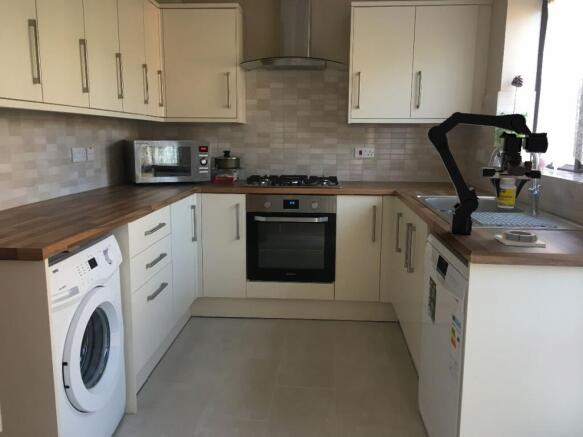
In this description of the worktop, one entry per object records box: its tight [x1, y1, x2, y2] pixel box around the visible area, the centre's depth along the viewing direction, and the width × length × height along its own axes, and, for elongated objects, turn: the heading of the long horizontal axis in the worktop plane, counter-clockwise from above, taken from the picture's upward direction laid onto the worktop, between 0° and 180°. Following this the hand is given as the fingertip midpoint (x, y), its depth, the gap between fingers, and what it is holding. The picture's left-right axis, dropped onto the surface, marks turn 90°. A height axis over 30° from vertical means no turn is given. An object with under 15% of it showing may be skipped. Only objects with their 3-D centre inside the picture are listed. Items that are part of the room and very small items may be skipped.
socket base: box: [493, 229, 547, 248], centre depth 151 cm, size 12×11×3 cm
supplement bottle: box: [496, 177, 516, 209], centre depth 159 cm, size 5×5×10 cm
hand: (506, 198), depth 159 cm, fingers closed on supplement bottle, 5 cm apart
